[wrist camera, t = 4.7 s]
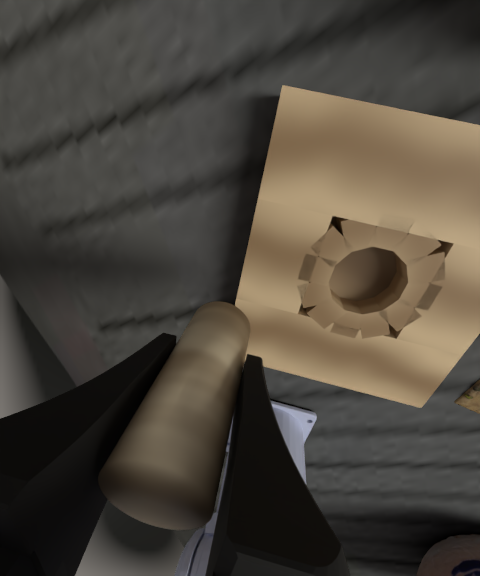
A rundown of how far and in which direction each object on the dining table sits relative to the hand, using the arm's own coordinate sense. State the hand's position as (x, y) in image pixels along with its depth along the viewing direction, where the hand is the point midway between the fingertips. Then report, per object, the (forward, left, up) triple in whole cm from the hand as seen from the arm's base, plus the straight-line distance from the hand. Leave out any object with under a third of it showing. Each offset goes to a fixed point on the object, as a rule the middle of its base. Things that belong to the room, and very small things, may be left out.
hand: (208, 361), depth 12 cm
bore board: (+3, -8, -10) cm, 13 cm away
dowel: (0, 0, -3) cm, 3 cm away
